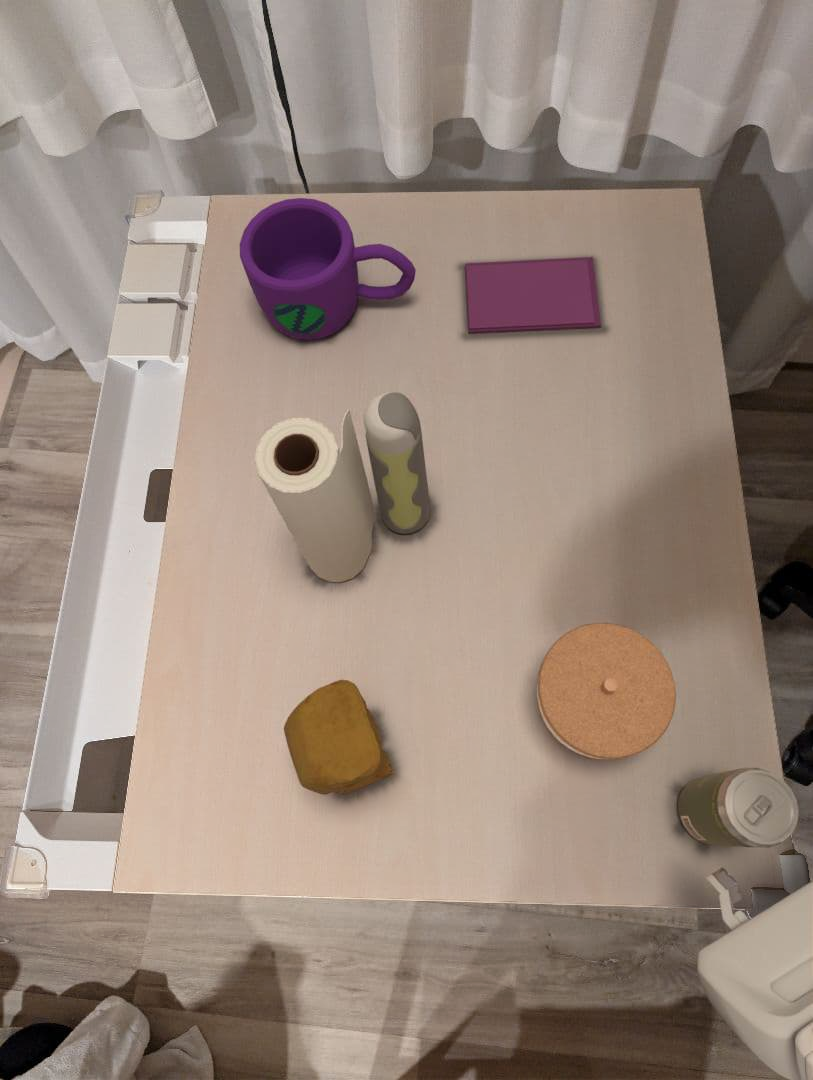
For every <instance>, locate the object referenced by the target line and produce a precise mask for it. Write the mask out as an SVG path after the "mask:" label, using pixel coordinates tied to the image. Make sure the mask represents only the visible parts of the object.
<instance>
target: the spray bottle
mask: <svg viewBox="0 0 813 1080" xmlns="http://www.w3.org/2000/svg"><path fill="white" fill-rule="evenodd" d="M363 412H364V413H363V424H364V430H365V434H364V436H365V442H366V446H367V453H368V457H369V463H370V467H371V472H372V477H373V482H374V483H373V484H374V487H375V492H376V497H377V502H378V507H379V512H380V513H379V514H380V517H381V520H382V522H383V524H384V525H385V526H386V527H387V528H388V529H389V530H391V531H393V532H395V533H397V534H402V535H403V534H404V535H405V534H412V533H415V532H418V531H419V530H421V529H422V528H423V527H424V526H425V525H426V524H427V522H428V521H429V519H430V516H431V502H430V501H431V500H430V495H429V494H430V493H429V492H430V491H429V485H428V476H427V475H428V474H427V468H426V460H425V451H424V450H425V449H424V443H423V442H424V441H423V433H422V426H421V421H420V417H419V414H418V412H417V410H416V407H415V406H414V405H413V403H412V402H411V400H410V399H409V398H408V397H407V396H406V395H405V394H403V393H401V392H396V391H385V392H382V393H380V394H377V395H376V396H375V397H373V398H371V400H370V401H369V402H368V404H367V405H366V407H365V409H364V411H363Z"/></svg>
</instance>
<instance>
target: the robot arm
mask: <svg viewBox="0 0 813 1080" xmlns="http://www.w3.org/2000/svg"><path fill="white" fill-rule="evenodd" d="M704 880H705V884H706V886H707V889H708V891H709V892H710V894H711V895H712V897H713V898H714V899H715V900H716V901H717V903H718V904H719V905H720V912H721V918H722V922H723V925H724V929H725V931H726V933H725V934H723V936H720V937H719V938H718V939H716V940H714V941H712V942H711V943H709V944H708V945H706V946H704V947H703V948H701V949H699V951H698V953H697V962H696V973H697V977H698V981H699V983H700V985H701V988H702V990H703V992H704V995H705V996H706V997H707V999H708V1001H709V1003H710V1004H711V1005H712V1007H713V1008H714V1009H715V1011H716V1012H717V1013H718V1014H719V1015H720V1017H721V1018H722V1019H723V1020H724V1022H725V1023H726V1024H727V1025H728V1026H729V1028H730V1029H731V1030H732V1031H733V1032H734V1033H735V1034H736V1036H737V1037H738V1038H739V1039H740V1040H741V1041H742V1043H744V1044H745V1046H746V1047H747V1048H749V1050H751V1052H752V1053H754V1055H756V1057H757V1058H758V1059H759V1060H760V1061H761V1062H762V1063H764V1064H765V1066H767V1067H768V1068H769V1069H770V1070H772V1071H773V1072H775V1073H776V1074H778V1075H779V1076H781V1077H783V1078H784V1079H787V1080H813V880H811V881H810V882H808V883H807V884H805V885H803V886H801V887H800V888H798V889H796V890H795V891H794V892H792V893H790V894H788V895H787V896H785V897H784V898H782V899H781V900H779V901H777V902H776V903H774V904H772V905H770V906H769V907H767V908H766V909H764V910H762V911H761V912H760V913H758V914H757V915H755V916H753V917H751V918H749V917H748V916H747V915H746V914H745V912H744V911H742V909H741V910H739V909H738V910H737V911H735V908H734V905H735V904H737V903H739V902H740V901H742V900H743V897H742V894H741V892H740V891H739V890H740V887H739V884H738V881H736V880H735V878H734V877H733V876H732V875H730V874H728V871H727V869H726V868H724V867H720V868H719V869H717V870H715V871H713V872H711V873H710V874H708V875H707V876H705V877H704Z"/></svg>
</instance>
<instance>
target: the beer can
mask: <svg viewBox="0 0 813 1080" xmlns="http://www.w3.org/2000/svg"><path fill="white" fill-rule="evenodd" d="M677 810H678V817H679V820H680V822H681V824H682V826H683V828H684V829H685V830H686V831H687V833H688V834H689V835H690V836H691V837H692V838H694V839H695V840H697V841H698V842H700V843H703V844H705V845H708V846H720V847H736V848H737V847H739V848H740V847H741V848H756V849H757V848H761V849H763V848H764V849H769V848H773V847H776V846H778V845H780V844H781V843H783V842H784V841H785V840H786V839H788V838H789V837H790V836H791V835H792V834H793V833H794V831H795V829H796V827H797V825H798V821H799V814H800V812H799V811H800V810H799V805H798V801H797V798H796V796H795V794H794V792H793V789H792V788H791V787H790V786H789V785H788V784H787V783H786V781H785V780H783V778H781V777H779V776H778V775H776V774H775V773H773V772H770V771H768V770H765V769H763V768H760V767H742V768H737V769H733V770H728V771H723V772H719V773H714V774H709V775H705V776H701V777H697V778H695V779H692V780H691V781H689V783H686V785H685V786H684V787H683V789H682V790H681V792H680V794H679V797H678V801H677Z"/></svg>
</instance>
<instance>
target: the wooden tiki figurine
mask: <svg viewBox="0 0 813 1080" xmlns="http://www.w3.org/2000/svg"><path fill="white" fill-rule="evenodd" d="M379 730H380V729H379V728H378V725H377V722H376V721H375V717H374V715H373V714H372V713H371V711H370V710H369V708H368V706H367V703H366V701H365V699H364V697H363V696H362V694H361V691H360V689H359V688H358V686H357V685H356V684H355V683H354V682H352V681H350V680H348V679H339V680H334V681H332V682H331V683H328V684H326V685H323V686H321V687H319V688H317V689H315V690H314V691H312V692H311V693H310V694H308V695H307V697H305V698H304V699H303V700H302V701H300V703H298V704H297V706H296V707H295V708H294V709H293V710H292V711H291V712H290V714H289V715H288V717H287V719H286V721H285V723H284V725H283V733H284V737H285V741H286V744H287V748H288V753H289V755H290V758H291V761H292V765H293V767H294V770H295V773H296V775H297V779H298V781H299V784H300V786H301V787H302V788H304V789H306V790H308V791H311V792H313V793H316V794H320V795H324V796H325V795H330V794H334V793H338V792H339V793H340V795H346V794H349V793H351V792H354V791H356V790H358V789H361V788H363V787H366V786H368V785H370V784H373V783H376V782H377V781H380V780H382V779H384V778H387V777H389V776H391V775H393V774H394V773H393V769H392V768H393V767H392V765H391V763H390V762H391V761H390V760H389V759H388V755H387V753H385V750H384V748H383V741H382V737H381V736H382V735H381V734H380V731H379Z"/></svg>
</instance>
